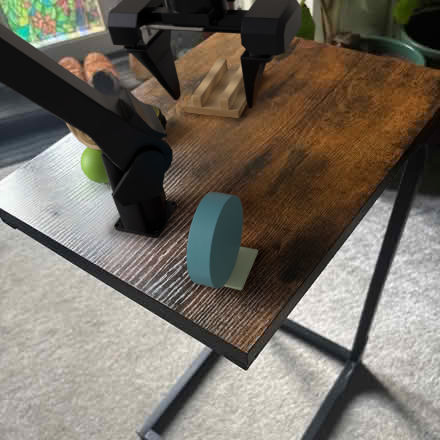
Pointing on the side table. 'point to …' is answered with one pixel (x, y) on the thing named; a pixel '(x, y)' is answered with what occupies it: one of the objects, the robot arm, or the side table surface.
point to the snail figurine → (90, 158)
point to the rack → (219, 92)
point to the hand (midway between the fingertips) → (213, 102)
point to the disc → (214, 239)
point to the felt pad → (241, 268)
